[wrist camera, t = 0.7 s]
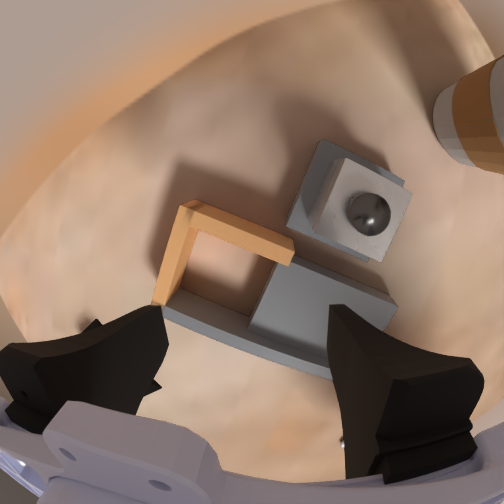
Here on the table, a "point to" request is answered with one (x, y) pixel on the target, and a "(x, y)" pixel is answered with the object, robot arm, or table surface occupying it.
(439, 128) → the coffee cup
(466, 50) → the table surface
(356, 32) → the table surface
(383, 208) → the metal block
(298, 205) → the gray square block
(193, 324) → the rail
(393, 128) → the table surface
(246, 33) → the table surface
